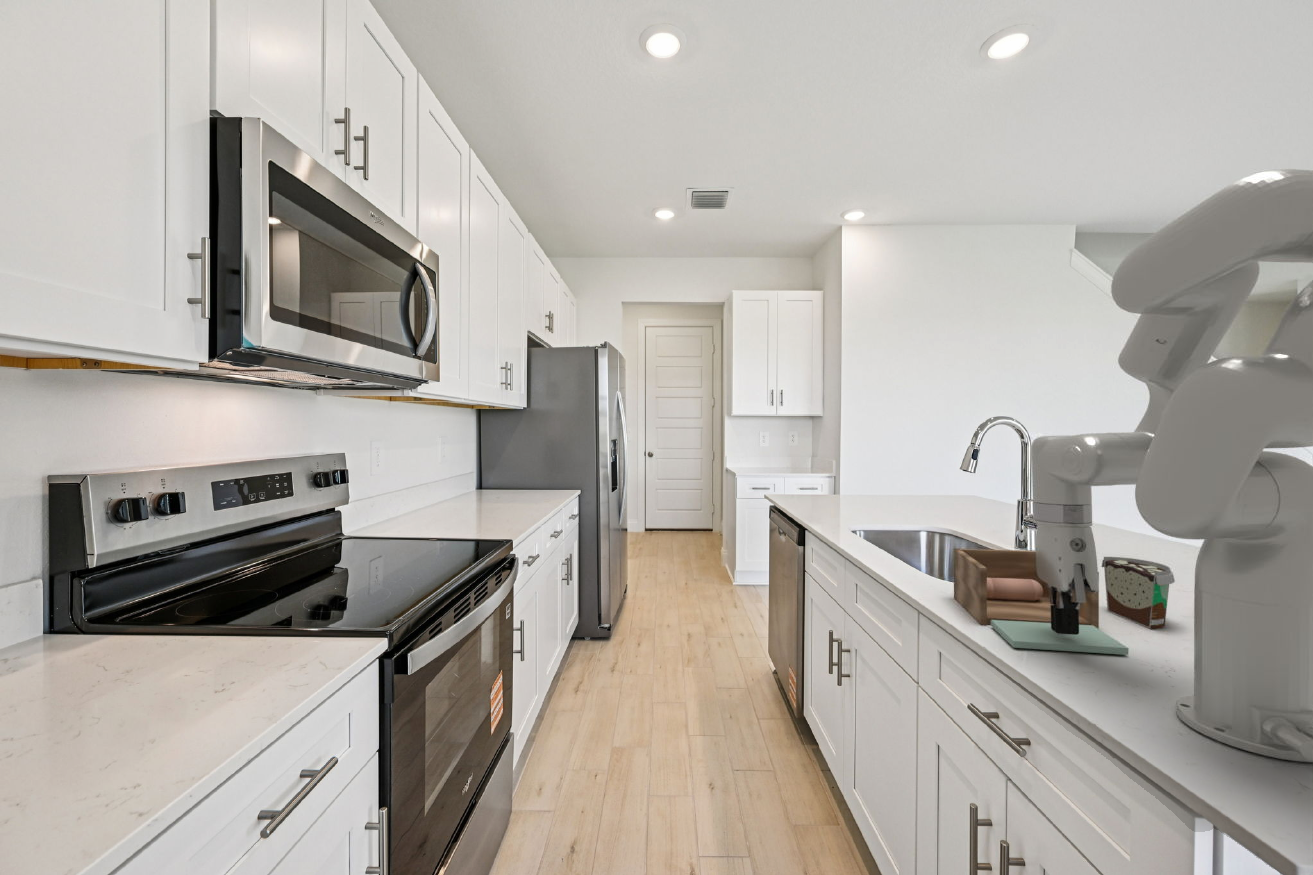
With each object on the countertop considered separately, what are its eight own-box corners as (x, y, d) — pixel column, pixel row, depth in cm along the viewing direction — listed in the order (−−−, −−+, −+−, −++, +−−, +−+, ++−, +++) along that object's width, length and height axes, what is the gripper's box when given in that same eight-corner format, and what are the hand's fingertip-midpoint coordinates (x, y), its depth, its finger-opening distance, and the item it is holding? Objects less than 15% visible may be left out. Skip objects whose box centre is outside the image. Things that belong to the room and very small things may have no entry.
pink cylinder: (1047, 604, 107) (1047, 582, 106) (982, 600, 109) (982, 580, 109) (1037, 597, 110) (1037, 577, 110) (975, 594, 113) (975, 574, 113)
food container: (1195, 632, 95) (1195, 572, 95) (1157, 632, 95) (1157, 572, 95) (1134, 608, 107) (1134, 555, 107) (1101, 608, 107) (1101, 555, 107)
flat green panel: (1093, 631, 95) (1128, 654, 85) (990, 625, 98) (1013, 647, 88) (1093, 625, 95) (1128, 648, 85) (990, 619, 98) (1013, 640, 88)
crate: (1098, 631, 96) (1098, 572, 95) (980, 624, 99) (980, 567, 99) (1054, 602, 111) (1054, 551, 111) (953, 597, 115) (953, 548, 115)
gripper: (1116, 521, 81) (1120, 651, 81) (1066, 509, 96) (1068, 619, 95) (1057, 520, 83) (1060, 647, 82) (1016, 508, 97) (1018, 617, 97)
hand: (1065, 632), depth 89 cm, fingers closed
